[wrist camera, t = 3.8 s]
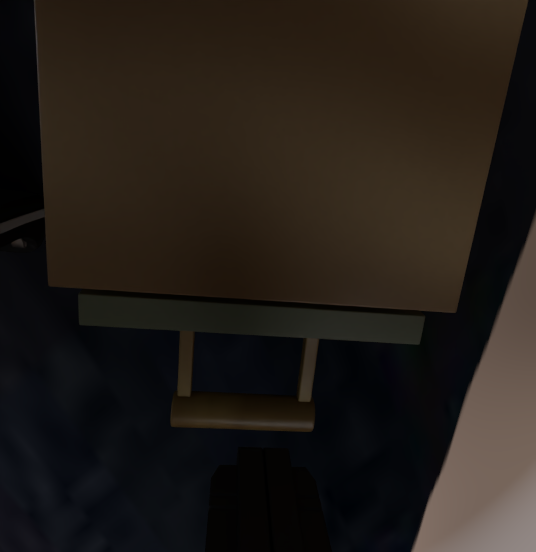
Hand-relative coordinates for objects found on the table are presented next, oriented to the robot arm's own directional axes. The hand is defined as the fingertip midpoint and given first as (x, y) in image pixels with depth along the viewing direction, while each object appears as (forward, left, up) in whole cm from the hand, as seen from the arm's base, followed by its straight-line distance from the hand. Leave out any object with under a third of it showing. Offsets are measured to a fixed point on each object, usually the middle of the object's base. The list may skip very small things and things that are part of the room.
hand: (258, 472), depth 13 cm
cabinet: (0, +13, -13) cm, 18 cm away
